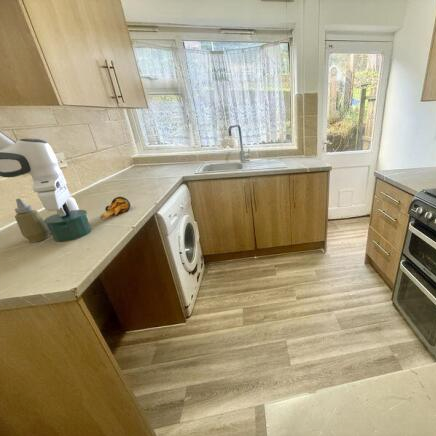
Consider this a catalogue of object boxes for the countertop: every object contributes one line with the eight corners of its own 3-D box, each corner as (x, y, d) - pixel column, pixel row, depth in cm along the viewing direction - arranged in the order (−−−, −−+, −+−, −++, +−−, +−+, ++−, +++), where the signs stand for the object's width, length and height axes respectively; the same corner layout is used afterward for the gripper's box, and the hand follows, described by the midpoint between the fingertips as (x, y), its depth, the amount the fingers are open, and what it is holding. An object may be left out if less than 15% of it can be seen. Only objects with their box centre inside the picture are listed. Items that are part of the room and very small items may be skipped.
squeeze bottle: (57, 235, 105) (36, 196, 97) (34, 245, 98) (10, 203, 90) (45, 233, 107) (24, 194, 100) (22, 242, 100) (-2, 201, 93)
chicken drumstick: (136, 199, 132) (119, 199, 115) (131, 218, 133) (113, 222, 115) (118, 194, 131) (98, 194, 113) (113, 214, 131) (92, 217, 113)
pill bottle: (86, 221, 119) (73, 191, 112) (66, 227, 112) (51, 197, 106) (80, 218, 123) (67, 189, 116) (60, 224, 116) (45, 194, 110)
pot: (48, 248, 95) (38, 228, 92) (60, 230, 110) (52, 213, 106) (88, 240, 101) (80, 221, 97) (94, 224, 115) (88, 207, 112)
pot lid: (40, 228, 94) (33, 214, 91) (50, 216, 105) (45, 204, 102) (84, 220, 100) (79, 207, 98) (89, 210, 111) (85, 198, 108)
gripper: (48, 177, 103) (61, 207, 108) (30, 189, 86) (47, 224, 92) (67, 175, 105) (79, 205, 111) (53, 186, 89) (68, 220, 95)
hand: (64, 214), depth 101 cm, fingers closed on pot lid, 3 cm apart
